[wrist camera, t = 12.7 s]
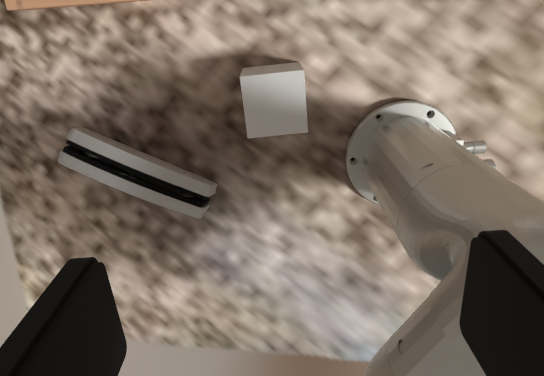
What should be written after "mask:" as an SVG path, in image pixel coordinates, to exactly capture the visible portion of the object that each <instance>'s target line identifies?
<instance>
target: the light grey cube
mask: <svg viewBox="0 0 544 376" xmlns="http://www.w3.org/2000/svg"><path fill="white" fill-rule="evenodd" d="M240 84H241V91H242V99H243V107H244V114H245V122H246V130H247V137H248V139H249V138H258V137H268V136H278V135H288V134H298V133H308V122H307V107H306V92H305V78H304V69H303V67H302V66H301V64H300V62H293V63H283V64H274V65H265V66H255V67H246V68H243V69H242V72H241V74H240Z"/></svg>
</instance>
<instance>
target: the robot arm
mask: <svg viewBox="0 0 544 376" xmlns="http://www.w3.org/2000/svg"><path fill="white" fill-rule="evenodd" d="M428 111H430V113H429V114H428V115H427V112H428ZM378 114H379V115H380V117H379V118H376V116H377V115H378ZM485 151H486V143H485V141H471V142H464V141H463V140H461V139H460V138H459V137H457V134H456V131H455V129H454V127H453V125H452V123H451V121H450V120H449V119H448V118H447V117H446V116H445V115H444V114H443V113H442V112H440V111H439V110H438V109H436V108H435V107H433V106H431V105H429V104H426V103H423V102H420V101H412V100H404V101H396V102H392V103H388V104H385V105H383V106H381V107H379V108H377V109H375V110H374V111H372V112H371V113H369V114H368V115H367V116H366V117H365V118H364V119H363V120H362V121H361V122H360V123H359V124H358V125H357V127H356V128H355V130H354V131H353V133H352V135H351V137H350V139H349V141H348V145H347V149H346V157H345V163H346V169H347V173H348V175H349V178H350V180H351V182H352V184H353V186H354V187H355V189H356V190H357V191H358V192H359V193H360V194H361V195H362V196H363V197H365V198H366V199H367V200H369V201H371V202H373V203H375V204H378V205H380V206H381V208H382V210H383V211H384V213H385V215H386V217H387V219H388V220H389V222H390V224H391V226H392V227H393V229H394V231H395V233H396V235H397V236H398V238H399V240H400V242H401V243H402V245H403V246H404V248H405V250H406V252H407V253H408V255H409V256H410V258H411V259H412V260H413V262H414V263H415V264H416V265H417V266H418V267H419V268H420V269H422V270H423V271H424V272H426V273H427V274H429V275H431V276H432V277H434V278H436V279H438V280H440V281H441V282H440V284H439V285H438V286H437V287H436V288H435V289H434V290H433V291H432V292H431V293H430V295H429V297H428V298H427V299H426V300H425V301H424V302H423V303H422V304H421V305H420V307H419V308H418V309H417V310H416V311H415V312H414V313H413V314H412V315H411V316H410V317H409V318H408V319H407V320H406V321H405V322H404V324H403V325H402V326H401V327H400V328H399V329H398V330H397V331H396V332H395V333H394V334H393V335H392V336H391V337H390V338H389V340H388V341H387V342H386V343H385V344H384V345H383V346H382V347H381V349H380V350H379V351H378V352H377V354H376V355H375V356H374V358H373V359H372V361H371V362H370V364H369V366H368V369H367V371H366V375H365V376H544V201H542V200H541V199H539V198H537V197H535V196H534V195H532V194H531V193H529V192H528V191H526V190H525V189H523V188H521V187H520V186H518V185H517V184H515V183H514V182H512V181H511V180H509V179H508V178H507V177H505V176H504V175H502V174H501V173H500V172H498V171H497V170H496V168H495V163H494V161H493V160H492V159H484V160H482V159H480V158H479V157H477V156H476V155H475V154H478V153H485ZM353 157H354V160H350V159H351V158H353ZM126 346H127V345H126V339H125V336H124V332H123V329H122V325H121V322H120V318H119V315H118V311H117V307H116V304H115V300H114V297H113V293H112V290H111V286H110V283H109V279H108V275H107V272H106V268H105V266H104V264H103V263H102V262H98V261H97V260H96V258H94V257H89V258H74V259H70V260H68V261H67V263H66V264H65V265H64V266H63V268H62V269H61V270H60V272H59V273H58V274H57V275H56V277H55V278H54V279H53V281H52V282H51V283H50V284H49V286H48V287H47V288H46V290H45V291H44V292H43V293H42V295H41V296H40V297H39V299H38V300H37V301H36V302H35V304H34V305H33V306H32V308H31V309H30V310H29V311H28V313H27V314H26V315H25V317H24V318H23V319H22V320H21V322H20V323H19V324H18V326H17V327H16V328H15V330H14V331H13V332H12V333H11V335H10V336H9V337H8V338H7V340H6V341H5V343H4V344H3V345H2V346H1V348H0V376H118V373H119V371H120V368H121V366H122V363H123V361H124V359H125V355H126V349H127V347H126Z"/></svg>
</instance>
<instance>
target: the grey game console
mask: <svg viewBox="0 0 544 376" xmlns="http://www.w3.org/2000/svg"><path fill="white" fill-rule="evenodd" d="M65 138H66V139H68V140H67V142H66V143H67V144H69V145H70V146H66V147H64V149H61V150H60V152H59V157H58V163H60V164H61V165H63V166H65V167H68V168H70V169H72V170H74V171H76V172H78V173H80V174H83V175H85V176H87V177H89V178H92V179H94V180H96V181H99V182H101V183H103V184H106V185H108V186H110V187H113V188H115V189H117V190H120V191H122V192H125V193H127V194H130V195H133V196H135V197H138V198H140V199H143V200H145V201H148V202H151V203H154V204H156V205H159V206H162V207H165V208H167V209H170V210H173V211H176V212H179V213H182V214H185V215H188V216H191V217H194V218H198V219H201V218H202V217H203V215H204V213H205V212H206V211H207V209H208V208H209V206H210V205H211V203H209V201H210V199H208V198H209V197H211V196H212V195H213V194H215V193H216V189H217V183H215V182H212V181H210V180H208V179H205V178H203V177H201V176H198V175H196V174H193V173H191V172H189V171H186V170H184V169H182V168H179V167H177V166H174V165H172V164H170V163H167V162H165V161H162V160H160V159H158V158H155V157H153V156H151V155H148V154H146V153H143V152H141V151H139V150H136V149H134V148H132V147H129V146H127V145H124V144H122V143H120V142H117V141H115V140H113V139H110V138H108V137H105V136H103V135H101V134H98V133H96V132H94V131H91V130H89V129H86V128H84V127H74V128H72V129H71V130H70V131H69V133H68V134H67V136H66V137H65Z"/></svg>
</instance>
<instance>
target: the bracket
mask: <svg viewBox="0 0 544 376" xmlns="http://www.w3.org/2000/svg"><path fill="white" fill-rule="evenodd" d="M4 1H5V4H6V7H7V10H34V9H47V8H60V7H73V6H85V5H98V4H111V3H124V2H136V1H149V0H4Z"/></svg>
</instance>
